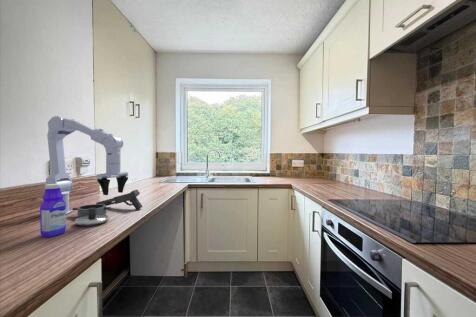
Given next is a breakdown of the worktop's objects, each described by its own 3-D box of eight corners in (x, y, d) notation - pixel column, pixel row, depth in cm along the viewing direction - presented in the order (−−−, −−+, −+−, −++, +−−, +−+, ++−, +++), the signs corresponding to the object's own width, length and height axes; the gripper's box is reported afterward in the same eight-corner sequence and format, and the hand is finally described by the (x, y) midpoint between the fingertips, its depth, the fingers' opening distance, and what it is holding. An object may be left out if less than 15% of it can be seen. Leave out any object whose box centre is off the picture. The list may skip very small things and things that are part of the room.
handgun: (139, 209, 120) (134, 190, 120) (98, 219, 124) (93, 200, 124) (144, 207, 123) (139, 188, 124) (104, 217, 128) (99, 199, 128)
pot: (66, 219, 102) (66, 209, 102) (79, 213, 113) (79, 204, 113) (105, 218, 105) (105, 209, 105) (114, 212, 115) (114, 203, 115)
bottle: (50, 238, 80) (49, 185, 79) (36, 237, 81) (35, 185, 81) (69, 231, 87) (69, 183, 87) (56, 230, 88) (56, 182, 88)
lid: (68, 228, 91) (68, 212, 91) (83, 219, 103) (83, 205, 103) (101, 227, 93) (101, 211, 93) (112, 219, 104) (112, 205, 104)
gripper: (105, 164, 100) (104, 197, 101) (132, 163, 114) (132, 192, 114) (93, 163, 103) (93, 195, 103) (122, 162, 116) (121, 190, 117)
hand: (113, 193), depth 109 cm, fingers open, 7 cm apart
